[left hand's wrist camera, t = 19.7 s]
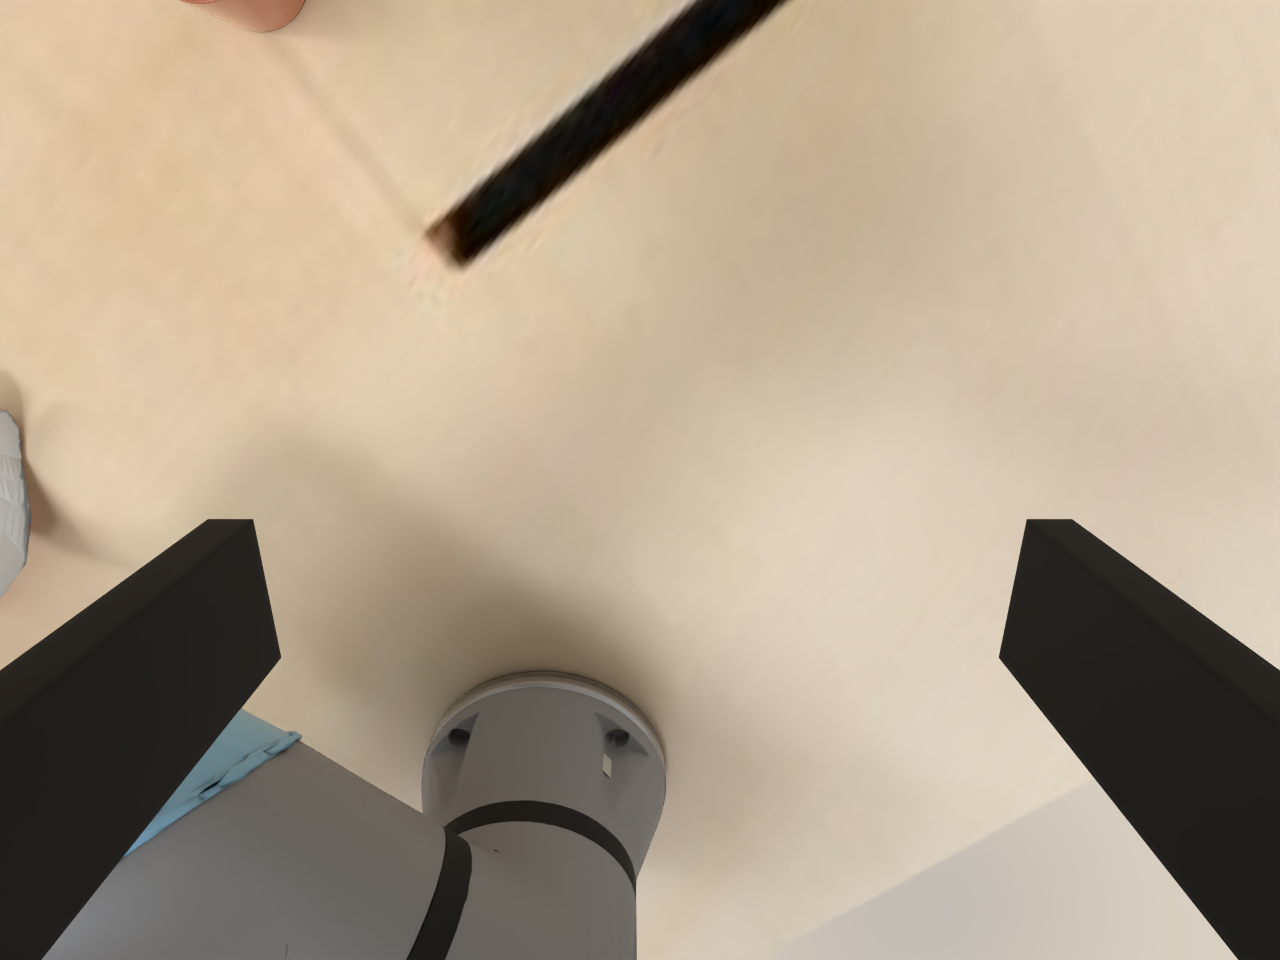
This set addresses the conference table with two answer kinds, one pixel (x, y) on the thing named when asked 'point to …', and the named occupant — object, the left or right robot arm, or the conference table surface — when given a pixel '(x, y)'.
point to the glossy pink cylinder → (251, 12)
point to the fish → (12, 503)
